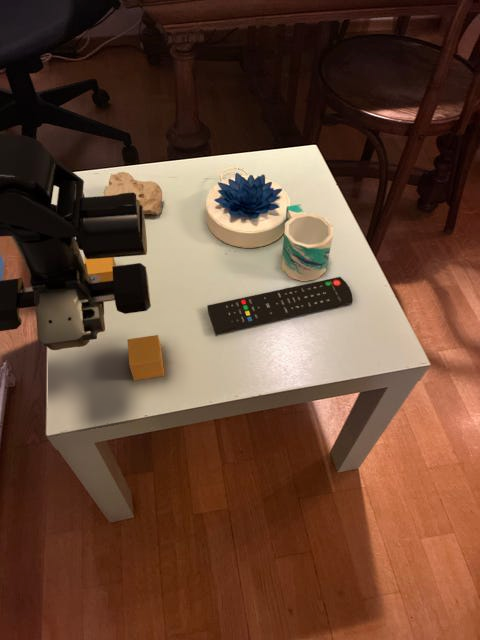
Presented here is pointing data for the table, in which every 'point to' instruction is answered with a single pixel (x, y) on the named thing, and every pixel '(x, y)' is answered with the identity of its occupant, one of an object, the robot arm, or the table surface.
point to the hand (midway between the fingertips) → (86, 334)
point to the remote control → (279, 304)
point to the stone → (136, 191)
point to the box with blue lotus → (246, 210)
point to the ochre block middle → (101, 268)
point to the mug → (305, 244)
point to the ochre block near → (145, 357)
